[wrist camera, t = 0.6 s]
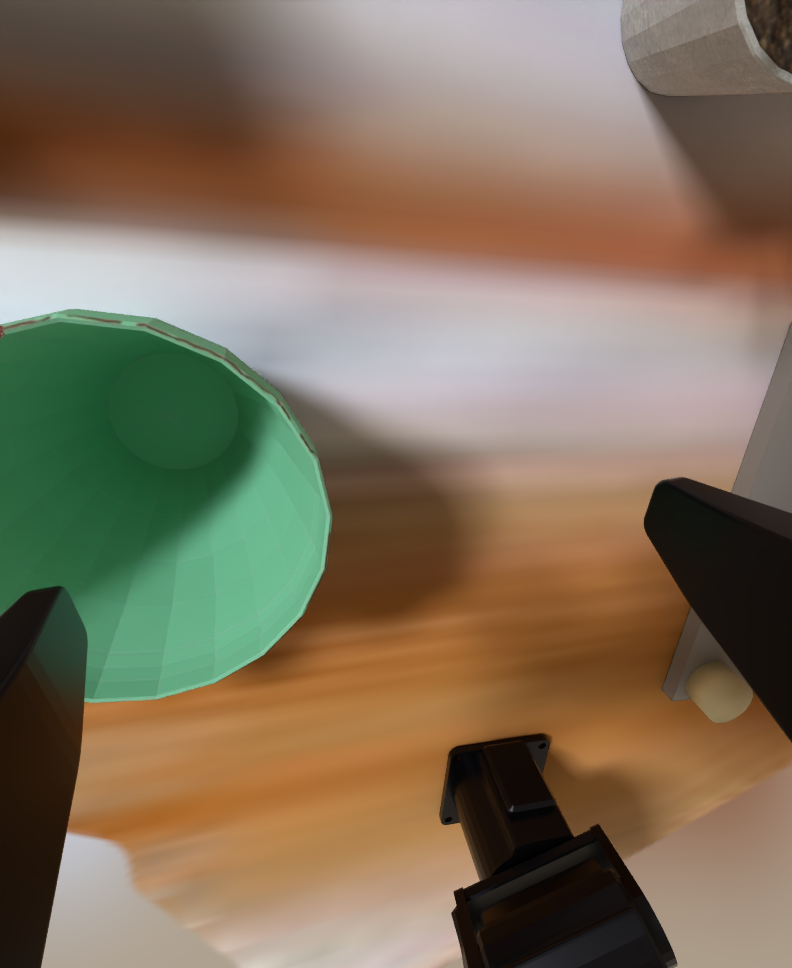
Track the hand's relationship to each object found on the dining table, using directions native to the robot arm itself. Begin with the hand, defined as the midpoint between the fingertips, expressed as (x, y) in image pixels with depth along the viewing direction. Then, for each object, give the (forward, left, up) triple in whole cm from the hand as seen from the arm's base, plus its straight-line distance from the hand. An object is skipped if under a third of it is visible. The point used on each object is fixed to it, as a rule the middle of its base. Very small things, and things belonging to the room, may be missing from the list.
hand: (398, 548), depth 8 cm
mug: (-4, +7, -15) cm, 17 cm away
